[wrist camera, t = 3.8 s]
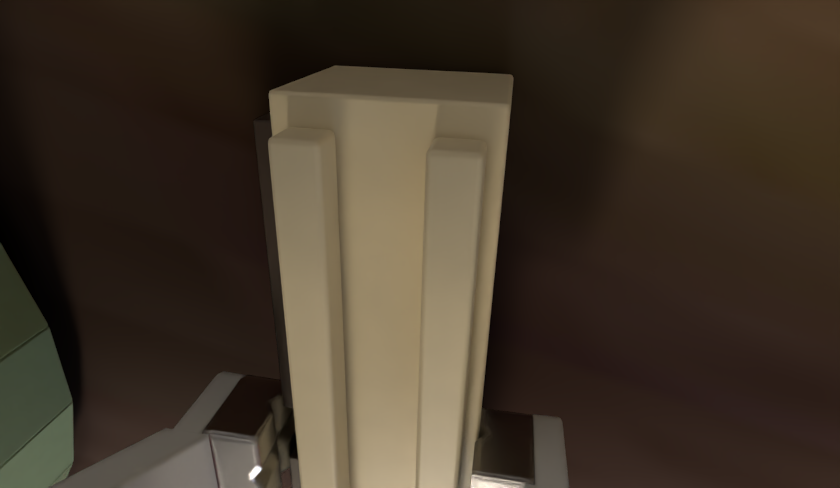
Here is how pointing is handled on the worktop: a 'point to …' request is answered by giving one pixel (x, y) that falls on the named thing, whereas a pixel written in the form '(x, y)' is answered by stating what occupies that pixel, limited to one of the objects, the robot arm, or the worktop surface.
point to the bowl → (30, 392)
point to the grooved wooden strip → (383, 267)
